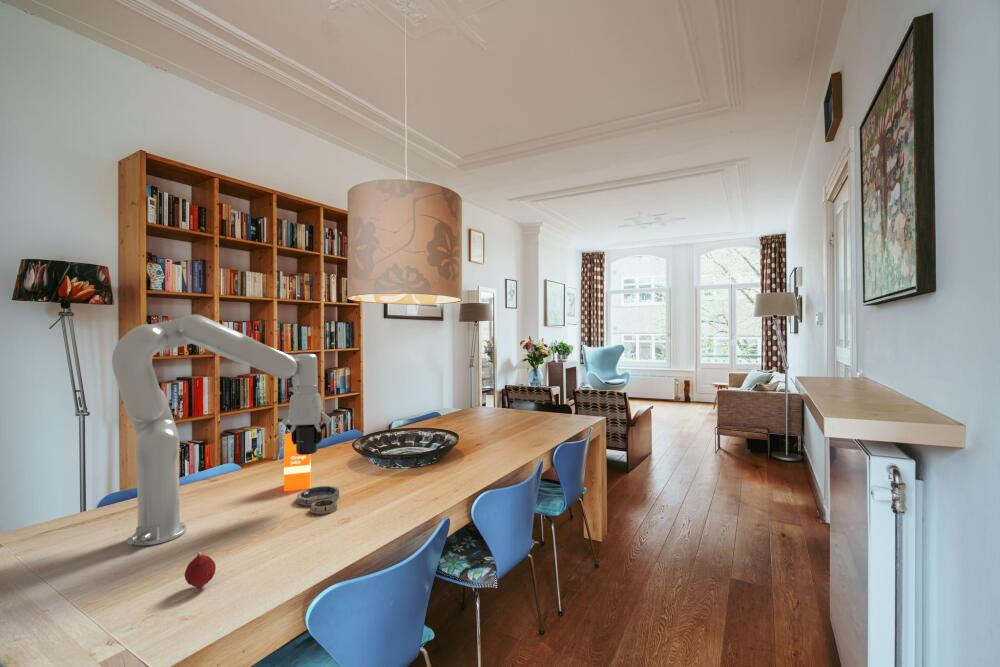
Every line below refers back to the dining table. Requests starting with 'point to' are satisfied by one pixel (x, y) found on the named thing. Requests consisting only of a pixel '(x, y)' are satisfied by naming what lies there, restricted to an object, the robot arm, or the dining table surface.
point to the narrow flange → (324, 507)
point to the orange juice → (295, 467)
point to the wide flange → (317, 495)
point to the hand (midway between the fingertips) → (307, 442)
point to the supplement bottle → (306, 439)
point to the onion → (200, 570)
